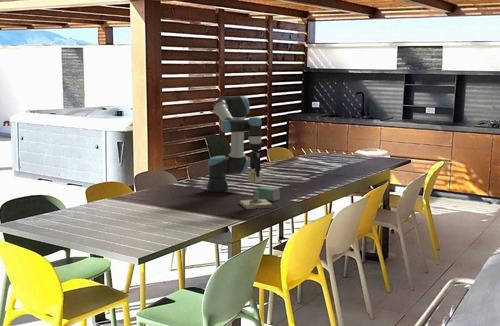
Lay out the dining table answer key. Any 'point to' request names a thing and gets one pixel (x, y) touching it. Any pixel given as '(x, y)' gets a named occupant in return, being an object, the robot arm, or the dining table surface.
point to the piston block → (255, 202)
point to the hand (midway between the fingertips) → (255, 180)
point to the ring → (253, 177)
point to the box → (268, 193)
